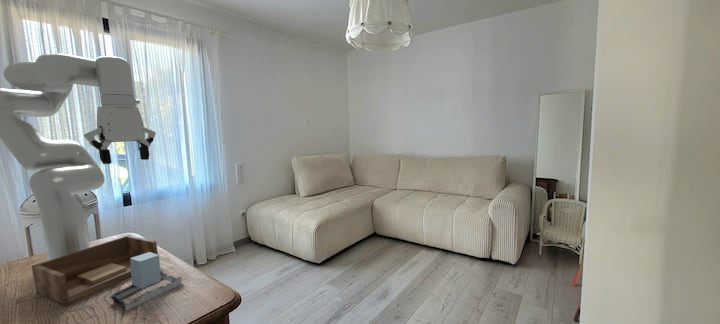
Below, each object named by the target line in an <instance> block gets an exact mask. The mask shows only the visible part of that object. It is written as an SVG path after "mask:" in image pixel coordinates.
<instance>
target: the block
mask: <svg viewBox="0 0 720 324" xmlns="http://www.w3.org/2000/svg"><path fill="white" fill-rule="evenodd" d="M130 263H131V278H130V279H131V285H135V286H137V287H139V288H141V289H143V288H146V287H148V286H151V285H154V284H155V283H159V282H160V281H162V278H161V277H160V271H161V264H160V254H159V253H158V254H154V253H151V252H148V253H145V254H142V255H139V256H136V257H132V258H130Z"/></svg>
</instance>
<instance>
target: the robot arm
mask: <svg viewBox="0 0 720 324" xmlns="http://www.w3.org/2000/svg"><path fill="white" fill-rule="evenodd" d="M3 76H4V79H5V80H6V81H7V83H9V84H10V85H11V86H12V87H15V88H17V89H11V88H10V89H9V88H0V140H1V141H2V142H3V144H4V145H5V146H6V148H7V149H8V151H9V152H10V153H11V154H12V156H13V157H14V158H15V159H16V161H17V162H18V163H19V164H20V166H21V167H23V168H24V169H25V170H28V171H33V172H34V173H33V174H32V175H31V176H30V178H29V181H28V183H29V187H30V190H31V192H32V194H33V195H34V198H35V200H36V204H37V207H38V210H39V214H40V215H39V216H40V221H41V224H42V230H43V234H44V235H43V236H44V243H45V246H46V252H47V258H48V261H49V260H52V259H55V258H58V257H61V256H64V255H68V254H71V253H74V252H77V251H80V250H83V249H87V248H90V243H89V237H88V230H87V225H86V218H85V217H86V216H85V211H84V208H83V205H82V204H81V203H80V202H79V201H78V200H77V199H75V198H74V197H73V195H77V194H81V193H82V194H83V193H87V192H92V191H95V190H99V189H100V188H101V187H102V186H104V183H105V175H104V173H103V170H102V169H101V167H100V166H99V165H98V163H97V162H96V161H95V160H94V158H93V157H92V155H91V154H90V153H89V151H87V149H86V148H85V147H84V146H83V145H82V144H80V143H79V142H77V141H75V140H71V139H56V140H55V139H53V140H51V139H48V138H46V137H45V136H44V135H43V134H42V133H41V131H40V130H39V129H38V128H36V126H34V125H33V124H31V123H29V122H28V121H25V120H23V119H21V118H19V117H31V118H33V117H34V118H35V117H36V118H39V117H40V118H46V117H51V116H54V115H55V114H57V113H58V112H59V110H60V108H61V107H62V106H63V105H64V102H66V100H67V98H68V97H69V95H70V93H71V91H72V89H73V88H74V85H82V86H89V87H90V86H91V87H96V88H98V90H99V97H100V103H101V106H98V107H97V111H96V128H94V129H93V130H91V131H88V132H87V133H84V134H83V137H84V138H85V140H87V142H89V143H88V144H90V145H91V146H92V147H94V148H95V149H96V150H98V154H99V159H100V162H102V164H103V165H110V164H112V157H111V152H110V149H108V147H109V146H110V145H111V144H112V143H123V142H125V143H126V142H127V143H128V142H136V143H137V144H138V145H140V146H139V156H140V160H144V161H147V160H149V159H150V148H149V147H150V146H151V144H152V143H153V142H154V141H155V140H154V139H155V137H156V134H157V133H156V131H154V130H151V129H149V128H146V127H145V124H144V121H143V117H142V114H141V111H140V110H139V107H137V105H139V104H140V102H141V101H140V99H137V98H136V97H135V93H134V84H133V77H132V76H133V75H132V69H131V65H130V62H129V61H128V60H127V59H125V58H123V57H118V56H110V55H108V56H106V55H105V56H103V55H102V56H97V58H96V59H92V58H88V57H82V56H77V55H70V54H66V53H51V54H41V55H39V56H38V57H37V58H36V59H35V60H30V61H18V62H15V63H14V62H13V63H10V64H9V65H7V66H6V67H5V68H4V70H3ZM146 134H147V137H146ZM96 136H97V138H98V140H96V138H95V137H96Z"/></svg>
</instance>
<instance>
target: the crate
mask: <svg viewBox="0 0 720 324" xmlns="http://www.w3.org/2000/svg"><path fill="white" fill-rule="evenodd" d="M157 244H158V243H157V241H156V240H153V239H147V238H142V237H139V236H133V235H130V234H128V235H125V236H122V237H118V238H115V239H112V240H109V241H106V242H103V243H100V244H96V245H94V246H89V248H87V249H83V250H80V251H77V252H74V253H71V254H68V255H64V256H61V257H58V258H55V259H52V260H49V259H48V260H45V261H44V262H43V261H42V262H39V263H36V264H33V265H31V268H32V269H31V270H32V275H33V280H34V286H35V290H36V291H35V292H36V294H37V295H38V296H40V297H42V298H44V299H46V300H49V301H50V302H53V303H55V304H57V305H59V306H61V307H63V308H65V307H68V306H71V305H73V304H76V303H77V302H80V301H82V300H84V299H85V300H86V298H87V299H88V298H89V297H91V296H93V295H96V294H98V293H100V292H102V291H105V290H107V289H109V288H111V287H114V286H115V285H116V286H117V285H118V284H121V283H123V282H125V281H127V280H130V279H132V278H131V263H130V258H132V257H136V256H139V255H142V254H145V253H148V252H151V253H154V254H158V255H159V253H158V246H157Z"/></svg>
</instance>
